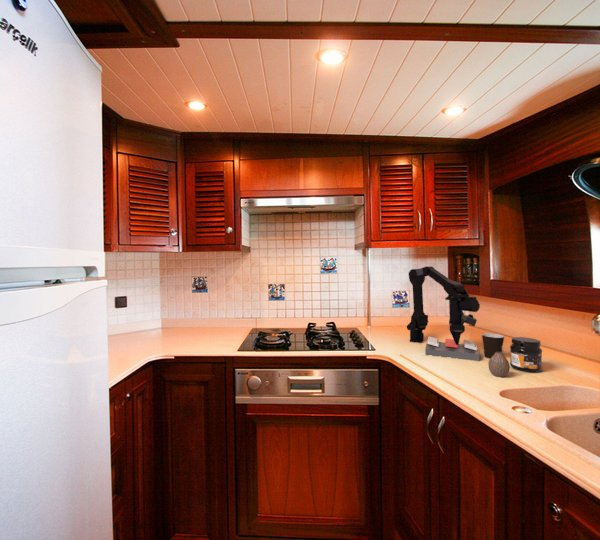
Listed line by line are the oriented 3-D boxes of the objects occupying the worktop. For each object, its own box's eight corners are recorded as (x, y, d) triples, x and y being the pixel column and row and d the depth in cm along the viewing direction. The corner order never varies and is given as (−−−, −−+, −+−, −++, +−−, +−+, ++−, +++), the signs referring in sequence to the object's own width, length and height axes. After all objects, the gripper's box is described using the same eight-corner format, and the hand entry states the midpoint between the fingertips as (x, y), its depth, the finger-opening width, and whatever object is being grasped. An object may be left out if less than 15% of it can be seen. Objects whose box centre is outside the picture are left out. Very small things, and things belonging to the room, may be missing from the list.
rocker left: (427, 343, 151) (427, 340, 151) (428, 338, 161) (428, 336, 161) (438, 346, 149) (438, 344, 149) (438, 341, 159) (439, 339, 159)
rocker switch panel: (425, 355, 147) (425, 348, 147) (427, 346, 162) (427, 340, 162) (479, 361, 138) (479, 353, 138) (475, 351, 153) (476, 345, 152)
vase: (484, 372, 124) (484, 350, 123) (500, 372, 124) (501, 349, 124) (496, 379, 117) (496, 355, 117) (514, 378, 117) (514, 355, 117)
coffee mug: (496, 361, 138) (496, 338, 137) (477, 356, 145) (477, 334, 145) (511, 357, 143) (512, 335, 143) (492, 352, 151) (493, 332, 150)
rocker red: (445, 346, 148) (445, 343, 148) (445, 340, 158) (445, 338, 158) (457, 347, 146) (457, 344, 145) (456, 342, 156) (456, 339, 155)
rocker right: (464, 347, 144) (465, 344, 144) (463, 341, 154) (463, 339, 154) (476, 350, 142) (477, 347, 142) (474, 344, 152) (475, 342, 152)
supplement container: (509, 370, 126) (510, 340, 126) (510, 363, 135) (510, 335, 135) (542, 375, 120) (543, 344, 120) (540, 367, 129) (541, 338, 129)
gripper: (477, 313, 139) (478, 348, 139) (473, 307, 156) (474, 339, 156) (449, 312, 143) (450, 346, 143) (448, 307, 160) (449, 337, 160)
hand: (456, 342), depth 150 cm, fingers open, 9 cm apart
